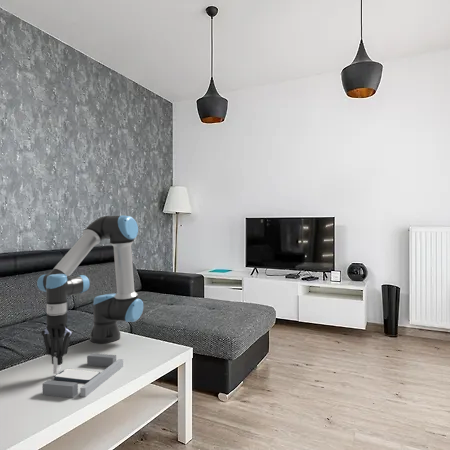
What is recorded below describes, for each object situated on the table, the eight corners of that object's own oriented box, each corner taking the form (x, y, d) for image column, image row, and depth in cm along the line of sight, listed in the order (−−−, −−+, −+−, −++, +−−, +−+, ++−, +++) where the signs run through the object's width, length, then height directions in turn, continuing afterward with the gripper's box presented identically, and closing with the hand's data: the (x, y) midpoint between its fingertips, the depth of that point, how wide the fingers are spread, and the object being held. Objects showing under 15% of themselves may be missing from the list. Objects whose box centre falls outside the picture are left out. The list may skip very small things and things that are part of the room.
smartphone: (101, 375, 150) (66, 371, 153) (101, 371, 150) (66, 367, 153) (89, 385, 141) (52, 380, 145) (89, 380, 141) (52, 376, 145)
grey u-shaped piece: (91, 362, 163) (91, 353, 163) (124, 365, 159) (124, 355, 159) (42, 394, 132) (42, 383, 132) (83, 398, 129) (82, 387, 129)
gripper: (36, 314, 146) (36, 374, 146) (65, 316, 143) (65, 377, 144) (48, 310, 153) (49, 367, 154) (77, 311, 151) (77, 370, 151)
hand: (57, 372), depth 149 cm, fingers closed
